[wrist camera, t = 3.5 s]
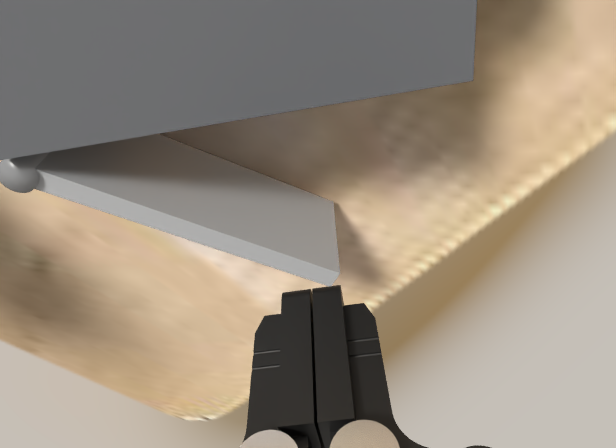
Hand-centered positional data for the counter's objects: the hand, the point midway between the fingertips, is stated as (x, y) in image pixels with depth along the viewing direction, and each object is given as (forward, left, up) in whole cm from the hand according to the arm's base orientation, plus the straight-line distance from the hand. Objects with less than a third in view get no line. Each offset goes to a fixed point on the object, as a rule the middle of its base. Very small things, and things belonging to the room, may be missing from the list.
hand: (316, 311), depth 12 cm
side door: (+5, 0, -10) cm, 11 cm away
